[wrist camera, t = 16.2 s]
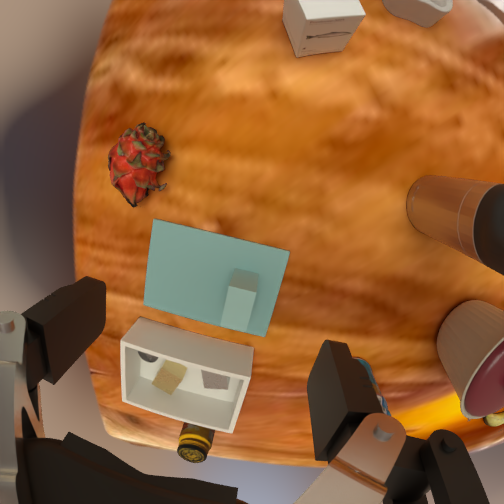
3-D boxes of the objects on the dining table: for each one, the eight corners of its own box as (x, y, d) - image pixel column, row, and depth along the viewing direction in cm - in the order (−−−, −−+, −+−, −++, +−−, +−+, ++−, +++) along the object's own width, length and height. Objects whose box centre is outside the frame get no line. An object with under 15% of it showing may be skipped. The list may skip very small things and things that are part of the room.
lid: (289, 250, 44) (293, 267, 36) (265, 333, 48) (263, 362, 40) (156, 217, 44) (133, 228, 36) (145, 302, 48) (125, 324, 40)
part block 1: (187, 367, 49) (182, 379, 46) (176, 383, 50) (170, 395, 47) (167, 356, 49) (161, 367, 45) (157, 372, 50) (151, 383, 47)
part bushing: (166, 335, 47) (158, 348, 44) (165, 351, 48) (157, 365, 45) (146, 329, 47) (137, 341, 44) (146, 346, 48) (137, 359, 45)
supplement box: (295, 59, 35) (304, 20, 23) (281, 19, 34) (284, -26, 22) (343, 52, 35) (367, 15, 22) (328, 14, 33) (344, -30, 21)
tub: (254, 347, 48) (250, 377, 40) (236, 403, 52) (232, 433, 44) (140, 316, 48) (120, 340, 40) (137, 375, 52) (122, 401, 44)
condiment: (189, 395, 52) (174, 440, 40) (232, 407, 52) (223, 453, 41) (185, 418, 54) (171, 460, 42) (224, 428, 54) (216, 472, 43)
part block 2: (229, 356, 48) (226, 371, 44) (230, 374, 49) (227, 389, 45) (205, 356, 48) (201, 370, 44) (208, 373, 49) (204, 388, 45)
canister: (409, 325, 45) (465, 404, 25) (482, 264, 41) (558, 312, 21) (436, 380, 48) (478, 450, 28) (499, 328, 45) (554, 381, 24)
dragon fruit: (165, 122, 41) (154, 196, 46) (110, 118, 36) (102, 196, 41) (181, 127, 34) (167, 215, 39) (115, 122, 30) (106, 216, 35)
